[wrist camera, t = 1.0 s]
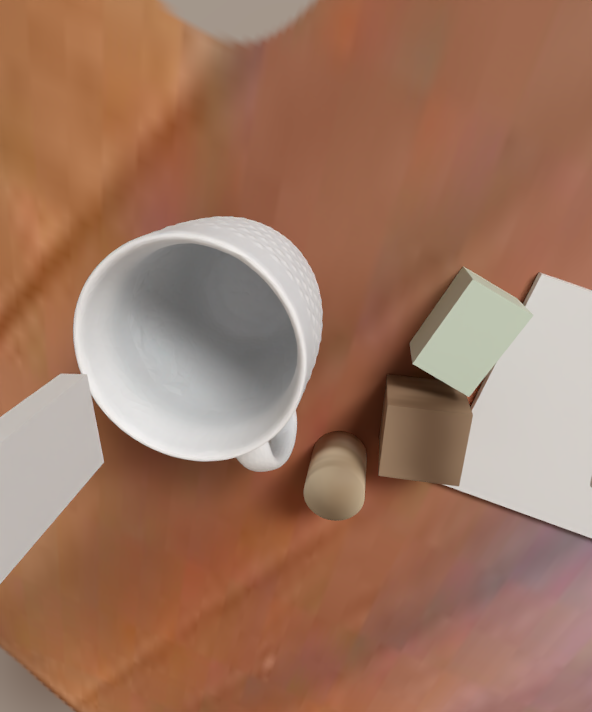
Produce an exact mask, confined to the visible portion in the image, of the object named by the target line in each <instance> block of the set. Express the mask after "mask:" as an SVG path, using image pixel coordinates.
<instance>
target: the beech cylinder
mask: <svg viewBox="0 0 592 712" xmlns="http://www.w3.org/2000/svg"><path fill="white" fill-rule="evenodd" d="M366 464H367V452H366V449H365V446H364V445H363V443H362V442H361V441H360V440H359V439H358V438H357V437H356V436H354V435H352V434H350V433H347V432H343V431H334V432H330V433H327V434H325V435H323V436H322V437H320V438H319V439H318V440H317V442H316V444H315V446H314V449H313V453H312V457H311V461H310V465H309V469H308V473H307V478H306V482H305V486H304V499H305V502H306V504H307V505H308V507H309V508H310V509H311V510H312V511H313V512H314V513H315V514H317V515H318V516H320V517H322V518H325V519H328V520H345V519H348V518H351V517H352V516H354V515H355V514H357V513H358V512H359V511H360V509H361V508H362V506H363V503H364V499H365V481H366Z"/></svg>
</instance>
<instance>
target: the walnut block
mask: <svg viewBox="0 0 592 712" xmlns="http://www.w3.org/2000/svg"><path fill="white" fill-rule="evenodd" d="M472 418H473V413H472V411H471V408H470V405H469V402H468V399H467V396H466V395H465V394H463V393H461V392H460V391H458V390H456V389H454V388H453V387H451V386H449V385H448V384H446V383H444V382H443V381H441V380H436V379H427V378H417V377H408V376H399V375H390V374H387V379H386V387H385V395H384V403H383V411H382V419H381V426H380V434H379V475H378V476H384V477H391V478H399V479H406V480H414V481H422V482H429V483H437V484H444V485H452V486H459V484H460V479H461V474H462V469H463V464H464V459H465V454H466V449H467V444H468V438H469V433H470V428H471V423H472Z"/></svg>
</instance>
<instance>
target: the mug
mask: <svg viewBox="0 0 592 712" xmlns="http://www.w3.org/2000/svg"><path fill="white" fill-rule="evenodd" d="M321 302H322V300H321V298H320V294H319V288H318V284H317V281H316V279H315V275H314V273H313V272H312V269H311V267H310V266H309V264H308V262H307V260H306V259H305V258H304V257H303V255H302V253H301V252H300V251H299V250H298V248H297V247H296V246H294V245H293V244H292V242H291V241H290V240H288V239H287V238H286V237H285V236H283V235H281V234H280V233H279V232H278V231H275V230H273V229H272V228H271V227H268V226H266V225H263V224H262V223H258V222H256V221H252V220H248V219H246V218H237V217H233V216H230V217H226V216H225V217H221V216H217V217H211V218H203V219H197V220H190V221H188V222H182V223H178V224H176V225H175V226H167V227H166V228H164V229H162V230H159V231H154V232H152V233H150V234H147V235H143V236H141V237H138V238H136V239H133V240H131V241H129V242H127V243H125V244H124V245H122V246H120V247H119V248H117V249H116V250H114V251H113V252H112V253H110V254H109V255H108V256H107V257H106V258H105V259H104V260H103V261H101V262H100V264H99V265H98V266H97V267H96V268H95V269H94V271H93V272H92V273H91V275H90V276H89V278H88V279H87V281H86V283H85V284H84V287H83V289H82V291H81V293H80V296H79V299H78V302H77V305H76V310H75V315H74V323H73V340H74V348H75V354H76V358H77V362H78V366H79V369H80V372H81V374H87V377H88V382H89V387H90V392H91V395H92V397H93V398H94V400H95V401H96V403H97V404H98V406H99V407H100V408H101V409H102V411H103V412H104V413H105V414H106V415H107V416H108V418H109V419H110V420H111V421H112V422H113V423H114V424H115V425H117V426H118V427H119V428H120V429H121V430H122V431H124V432H125V433H126V434H128V435H129V436H131V437H132V438H133V439H135V440H137V441H138V442H140V443H142V444H144V445H145V446H147V447H149V448H151V449H154V450H156V451H158V452H161V453H163V454H166V455H169V456H172V457H176V458H180V459H185V460H192V461H220V460H227V459H232V458H235V457H236V458H237V460H238V461H239V462H240V463H241V464H242V465H243V466H244V467H246V468H247V469H249V470H252V471H256V472H265V471H271V470H274V469H277V468H279V467H281V466H282V465H283V464H284V463H285V462H286V461H287V460H288V458H289V457H290V455H291V453H292V450H293V447H294V444H295V439H296V432H297V416H296V408H297V406H298V404H299V402H300V400H301V397H302V395H303V392H304V391H305V387H306V384H307V382H308V380H309V379H310V377H311V373H312V369H313V367H314V365H315V362H316V357H317V355H318V351H319V344H320V341H321V332H322V326H323V324H322V314H323V311H322V306H321ZM268 441H269V442H268Z"/></svg>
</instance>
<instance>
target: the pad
mask: <svg viewBox="0 0 592 712" xmlns="http://www.w3.org/2000/svg"><path fill="white" fill-rule="evenodd" d="M523 305H524V306H525V307H526V308H527V309H528V310H529V311H530V312H531V313H532V314H533V317H532V318H531V319H530V320H529V322H528V323H527V324H526V326H525V327H524V328H523V329H522V331H521V332H520V333H519V334H518V336H517V337H516V338H515V339H514V341H513V342H512V343H511V345H510V346H509V347H508V348H507V350H506V351H505V352H504V353H503V355H502V356H501V357H500V358H499V360H498V361H497V362H496V364H495V365H494V366H493V367H492V369H491V370H490V371H489V372H488V374H487V375H486V377H485V379H484V381H483V383H482V385H481V387H480V389H479V391H478V393H477V395H476V397H475V399H474V401H473V403H472V405H471V407H470V408H471V411H472V413H473V418H472V423H471V428H470V433H469V438H468V444H467V449H466V454H465V459H464V464H463V469H462V474H461V479H460V484H459V486H452V485H445V486H448V487H451V488H454V489H457V490H459V491H462V492H465V493H468V494H470V495H473V496H476V497H479V498H481V499H484V500H487V501H490V502H492V503H495V504H498V505H501V506H504V507H506V508H509V509H512V510H515V511H517V512H520V513H523V514H526V515H528V516H531V517H534V518H537V519H540V520H542V521H545V522H548V523H551V524H553V525H556V526H559V527H562V528H564V529H567V530H570V531H573V532H576V533H578V534H581V535H584V536H587V537H589V538H592V487H591V486H590V482H591V477H592V290H589V289H587V288H584V287H581V286H578V285H575V284H572V283H569V282H566V281H563V280H561V279H558V278H555V277H552V276H549V275H546V274H543V273H540V272H539V273H538V275H537V277H536V279H535V281H534V283H533V285H532V287H531V289H530V291H529V293H528V295H527V297H526V299H525V301H524V303H523ZM443 485H444V484H443Z"/></svg>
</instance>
